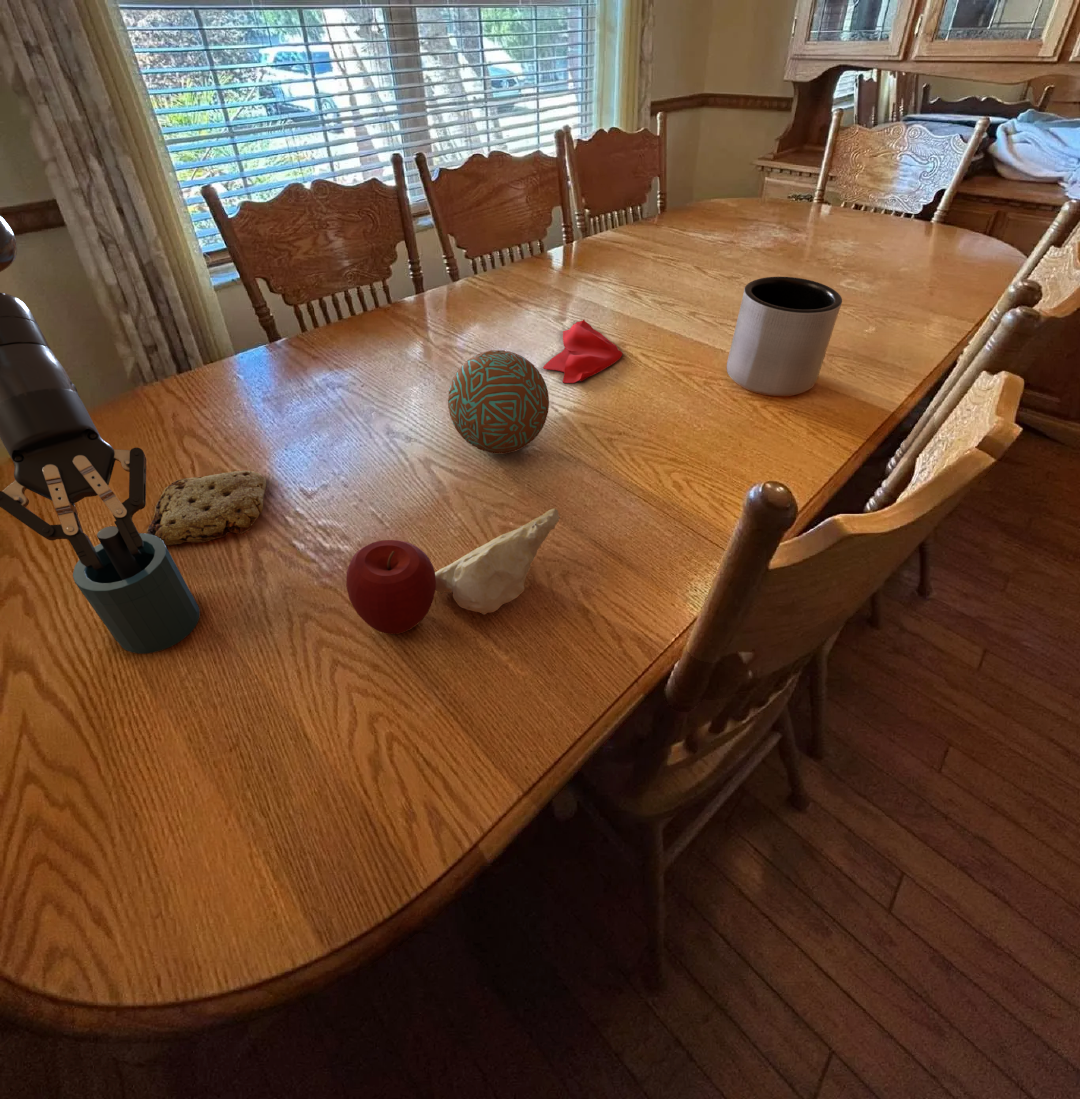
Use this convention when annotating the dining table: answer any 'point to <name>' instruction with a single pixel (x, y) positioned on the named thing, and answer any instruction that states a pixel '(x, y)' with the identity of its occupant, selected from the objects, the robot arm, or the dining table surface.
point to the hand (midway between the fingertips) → (118, 561)
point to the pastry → (208, 507)
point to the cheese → (496, 567)
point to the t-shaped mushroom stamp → (118, 552)
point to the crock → (141, 599)
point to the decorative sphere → (498, 401)
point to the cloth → (583, 353)
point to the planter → (782, 335)
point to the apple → (391, 585)
